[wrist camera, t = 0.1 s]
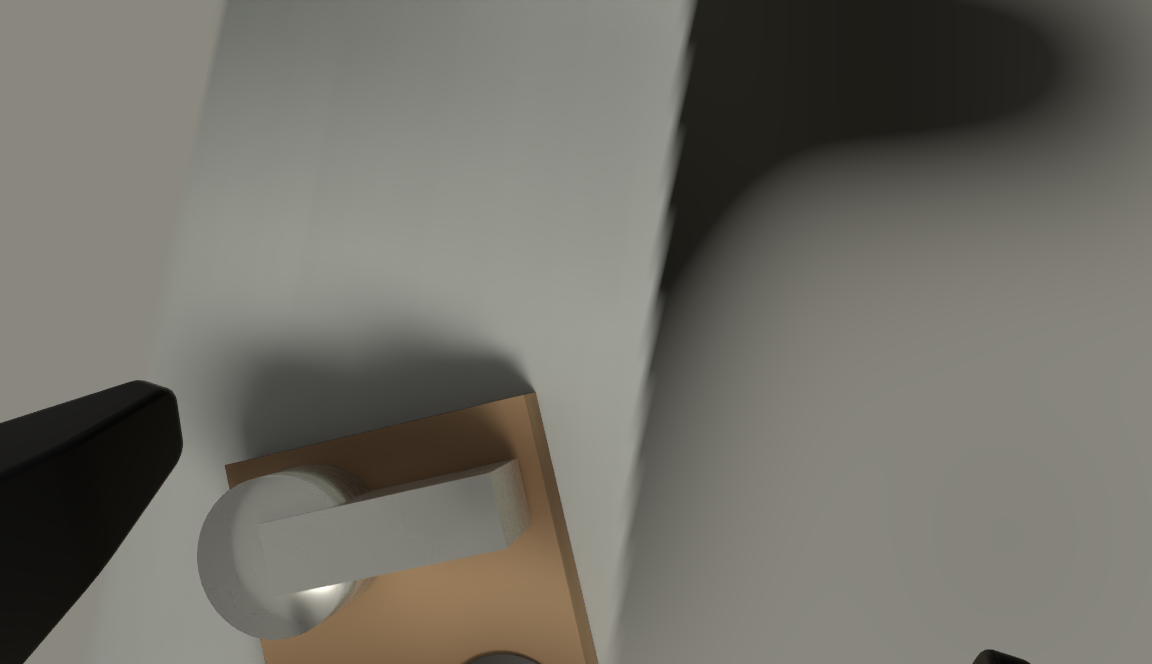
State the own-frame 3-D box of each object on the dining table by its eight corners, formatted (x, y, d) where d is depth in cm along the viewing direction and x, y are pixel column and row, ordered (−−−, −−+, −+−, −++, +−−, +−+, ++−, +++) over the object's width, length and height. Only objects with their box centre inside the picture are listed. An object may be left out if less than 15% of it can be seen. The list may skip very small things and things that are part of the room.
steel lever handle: (267, 621, 23) (207, 657, 21) (238, 480, 24) (175, 496, 21) (541, 566, 22) (517, 596, 20) (507, 417, 23) (479, 426, 20)
